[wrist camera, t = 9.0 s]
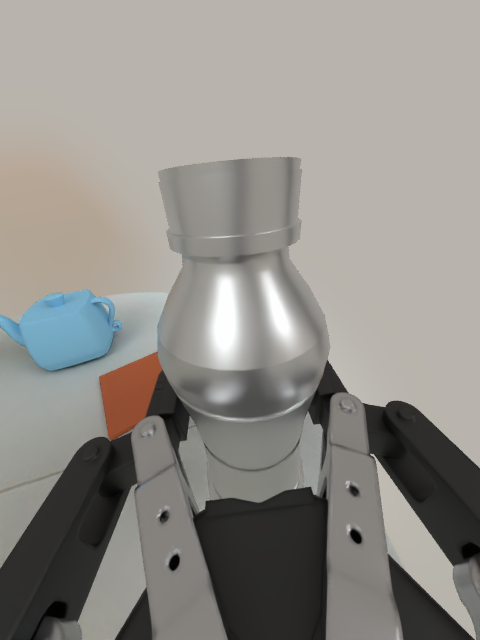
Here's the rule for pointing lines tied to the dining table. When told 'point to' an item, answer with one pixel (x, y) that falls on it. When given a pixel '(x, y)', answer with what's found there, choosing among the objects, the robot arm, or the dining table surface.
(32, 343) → the teapot
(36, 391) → the dining table surface
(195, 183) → the silver metal bottle
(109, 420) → the terracotta mat
